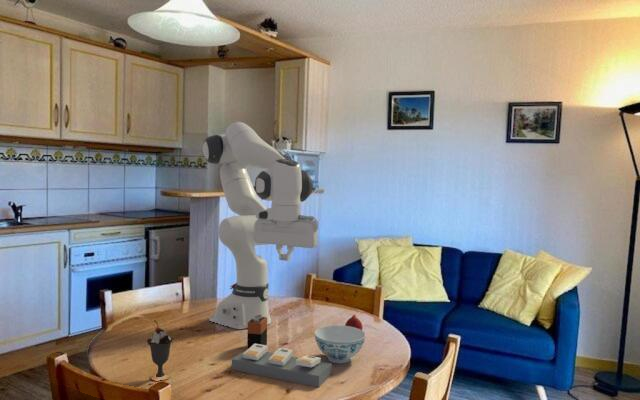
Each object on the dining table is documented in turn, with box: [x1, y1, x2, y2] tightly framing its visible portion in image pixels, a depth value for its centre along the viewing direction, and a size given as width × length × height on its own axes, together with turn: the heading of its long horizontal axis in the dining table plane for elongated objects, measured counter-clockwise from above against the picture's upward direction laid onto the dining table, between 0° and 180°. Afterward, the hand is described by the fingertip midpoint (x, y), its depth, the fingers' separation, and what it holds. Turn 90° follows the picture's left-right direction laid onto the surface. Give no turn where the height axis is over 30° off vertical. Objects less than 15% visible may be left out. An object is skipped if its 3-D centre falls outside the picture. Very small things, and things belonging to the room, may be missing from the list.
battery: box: [246, 315, 268, 350], centre depth 151 cm, size 4×7×10 cm, turn 169°
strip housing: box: [231, 348, 333, 388], centre depth 134 cm, size 26×9×3 cm, turn 67°
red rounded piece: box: [344, 314, 363, 331], centre depth 163 cm, size 6×6×8 cm
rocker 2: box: [269, 347, 295, 366], centre depth 134 cm, size 4×6×2 cm
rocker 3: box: [296, 354, 322, 367], centre depth 131 cm, size 4×6×2 cm
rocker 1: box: [243, 344, 269, 360], centre depth 137 cm, size 4×6×2 cm
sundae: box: [146, 320, 174, 377], centre depth 128 cm, size 7×7×15 cm
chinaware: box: [314, 324, 366, 364], centre depth 144 cm, size 15×15×8 cm
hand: (284, 260), depth 147 cm, fingers closed
